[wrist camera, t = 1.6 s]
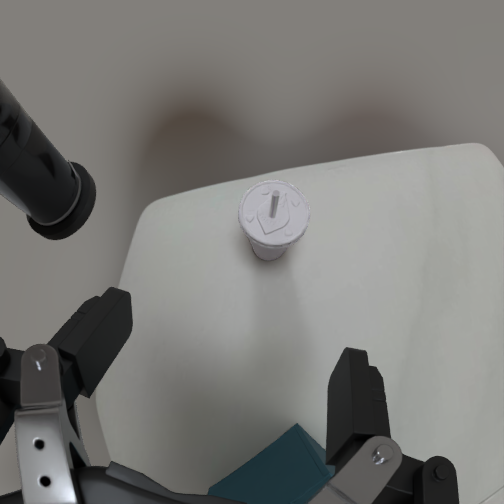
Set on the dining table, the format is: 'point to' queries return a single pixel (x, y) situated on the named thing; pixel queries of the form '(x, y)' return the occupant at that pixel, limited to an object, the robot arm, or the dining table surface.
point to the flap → (311, 491)
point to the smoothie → (273, 217)
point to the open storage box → (278, 471)
